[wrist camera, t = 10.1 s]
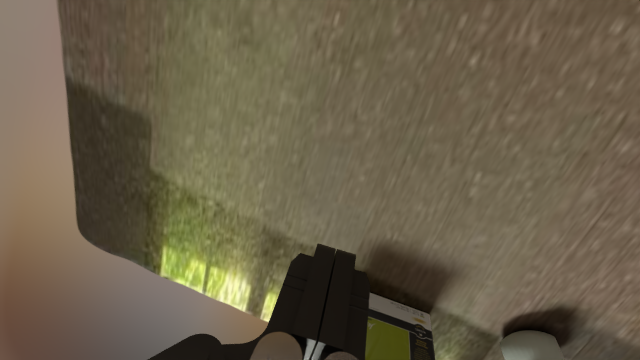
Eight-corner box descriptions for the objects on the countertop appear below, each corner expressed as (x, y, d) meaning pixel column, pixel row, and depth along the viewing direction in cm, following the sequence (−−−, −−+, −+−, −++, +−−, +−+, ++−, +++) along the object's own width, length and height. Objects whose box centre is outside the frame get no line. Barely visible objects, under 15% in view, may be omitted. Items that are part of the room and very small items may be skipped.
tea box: (337, 313, 62) (323, 394, 49) (354, 284, 56) (344, 368, 44) (407, 339, 62) (410, 427, 49) (432, 313, 56) (442, 405, 44)
